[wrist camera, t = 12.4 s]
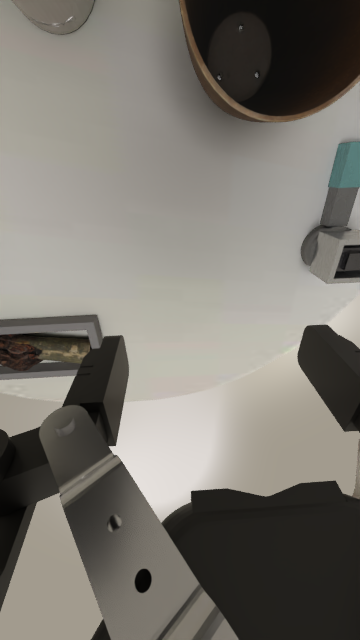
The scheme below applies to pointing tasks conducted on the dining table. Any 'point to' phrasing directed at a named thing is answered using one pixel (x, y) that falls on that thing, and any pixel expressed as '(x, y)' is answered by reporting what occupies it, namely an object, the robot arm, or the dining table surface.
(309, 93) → the plant pot
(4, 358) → the rough wooden branch
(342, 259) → the ratchet
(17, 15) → the dining table surface
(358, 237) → the square metal tube
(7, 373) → the gray rectangular tray
